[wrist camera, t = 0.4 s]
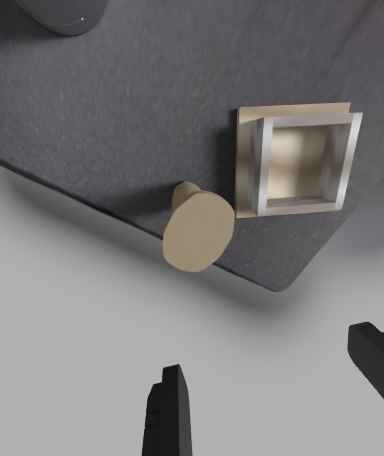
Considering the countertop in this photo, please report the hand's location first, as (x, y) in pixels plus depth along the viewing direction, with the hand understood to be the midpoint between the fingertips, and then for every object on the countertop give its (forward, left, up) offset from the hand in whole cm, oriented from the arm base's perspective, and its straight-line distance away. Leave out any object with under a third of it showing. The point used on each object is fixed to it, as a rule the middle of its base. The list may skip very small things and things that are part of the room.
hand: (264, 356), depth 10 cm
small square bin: (-6, +12, -23) cm, 27 cm away
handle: (-3, -2, -23) cm, 23 cm away
